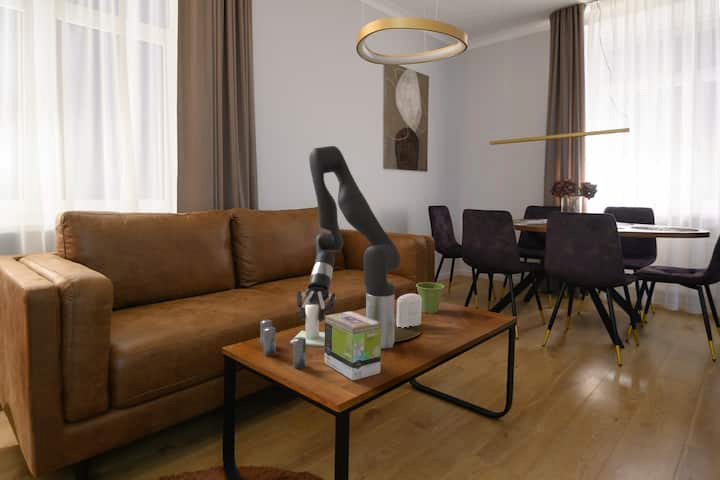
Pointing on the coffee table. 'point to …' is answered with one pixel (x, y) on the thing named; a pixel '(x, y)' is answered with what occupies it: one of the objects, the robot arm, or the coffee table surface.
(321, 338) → the mat
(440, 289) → the plant pot
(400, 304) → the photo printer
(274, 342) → the posts
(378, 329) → the tea box
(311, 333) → the cylinder
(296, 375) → the coffee table surface
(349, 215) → the robot arm
